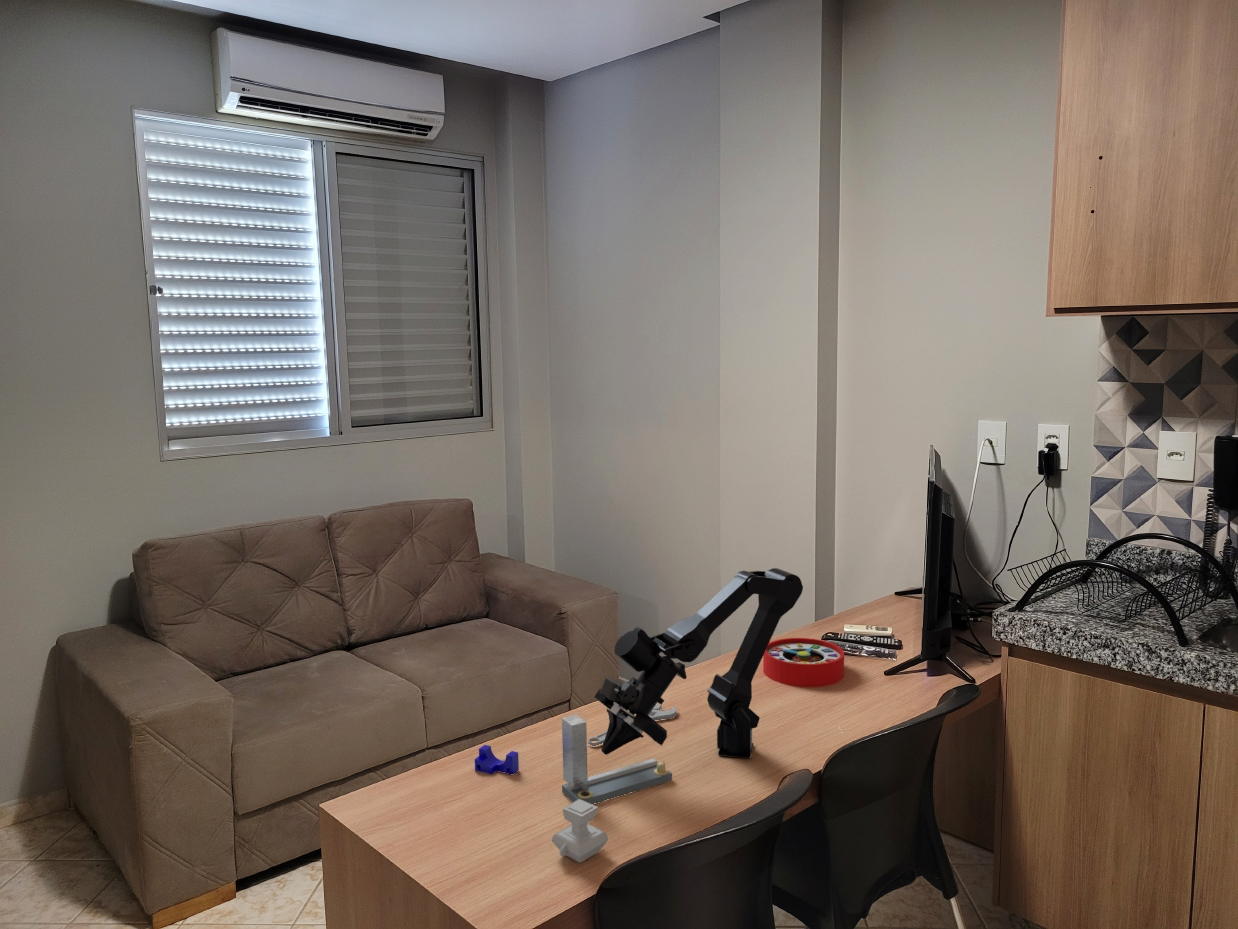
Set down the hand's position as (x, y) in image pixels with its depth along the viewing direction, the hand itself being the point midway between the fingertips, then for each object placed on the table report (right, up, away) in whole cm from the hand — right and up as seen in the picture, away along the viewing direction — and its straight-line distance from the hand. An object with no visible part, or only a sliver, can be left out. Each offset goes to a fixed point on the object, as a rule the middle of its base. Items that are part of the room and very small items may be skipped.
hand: (603, 753), depth 168 cm
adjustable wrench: (+5, -3, +27) cm, 28 cm away
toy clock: (+49, +2, +57) cm, 76 cm away
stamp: (-3, -10, -21) cm, 24 cm away
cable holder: (-21, -6, +8) cm, 24 cm away
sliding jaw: (-5, -5, -3) cm, 8 cm away
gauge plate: (+3, -7, +1) cm, 7 cm away
